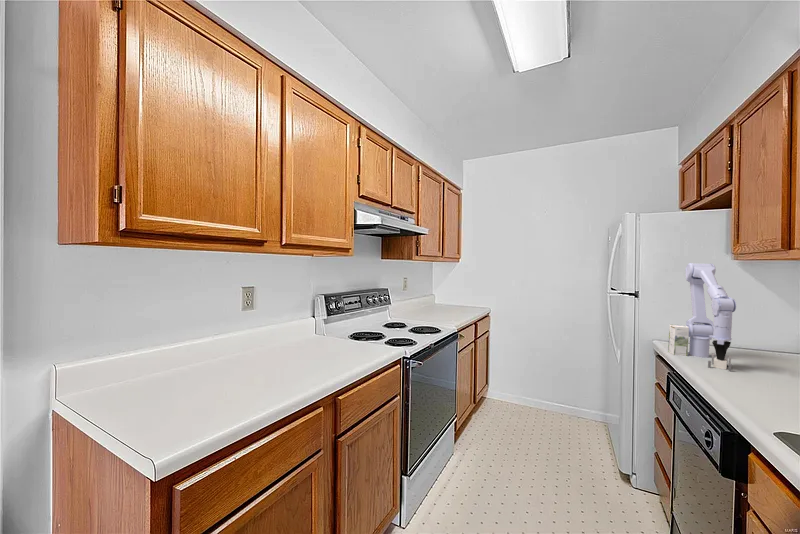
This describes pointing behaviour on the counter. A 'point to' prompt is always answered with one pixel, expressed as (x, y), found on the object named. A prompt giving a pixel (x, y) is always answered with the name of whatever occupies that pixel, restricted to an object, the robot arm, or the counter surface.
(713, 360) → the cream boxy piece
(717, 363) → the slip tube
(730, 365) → the socket
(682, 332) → the syrup box
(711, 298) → the robot arm
